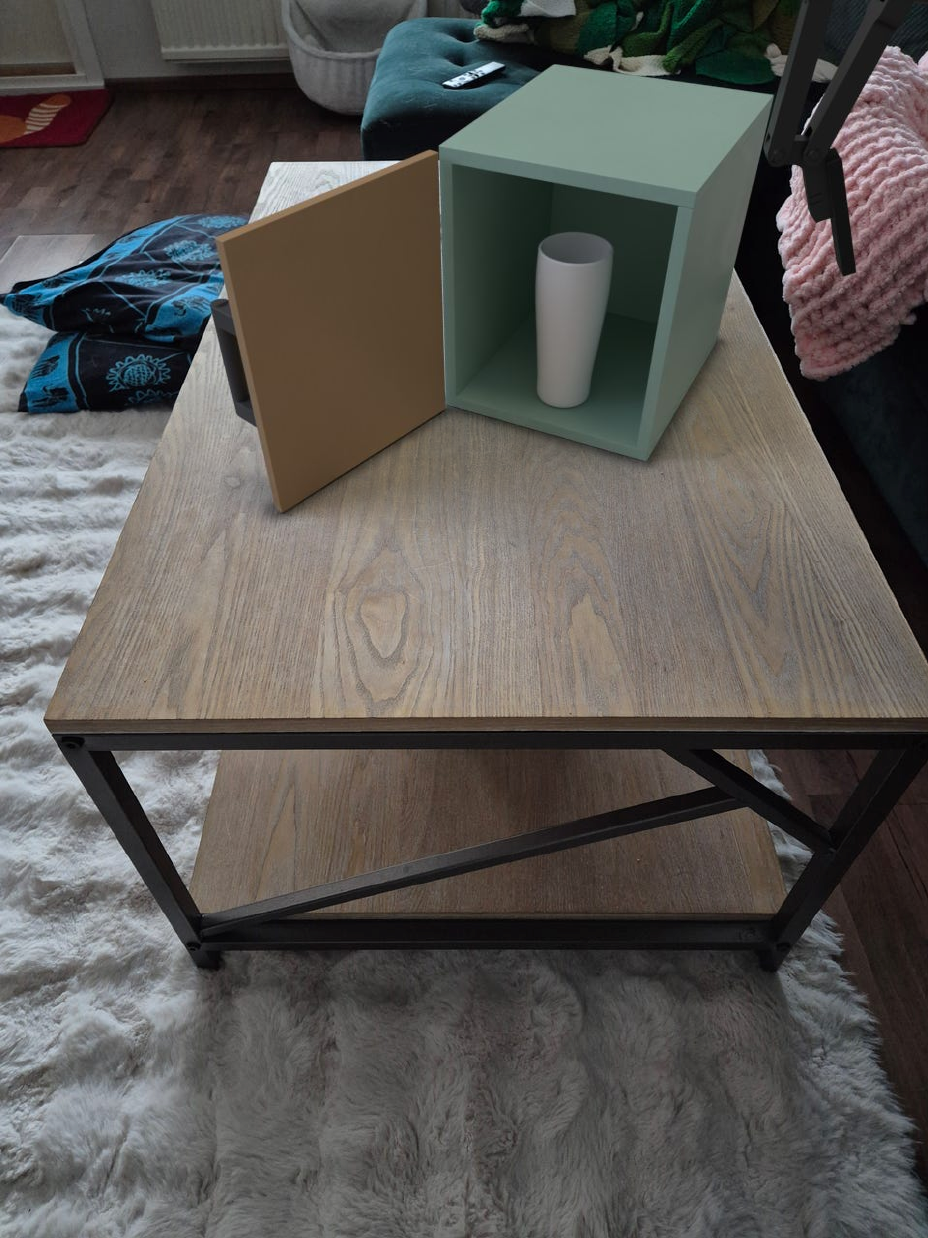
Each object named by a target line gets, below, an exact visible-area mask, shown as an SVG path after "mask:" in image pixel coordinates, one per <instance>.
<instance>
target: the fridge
mask: <svg viewBox="0 0 928 1238" xmlns="http://www.w3.org/2000/svg"><path fill="white" fill-rule="evenodd" d="M774 96H775V95H774V94H770V93H763V92H755V91H747V90H741V89H735V88H734V89H733V88H727V87H719V86H712V85H706V84H698V83H691V82H685V81H676V80H670V79H663V78H657V77H649V76H648V77H647V76H640V75H634V74H627V73H618V72H613V71H612V72H611V71H605V70H598V69H591V68H584V67H577V66H569V65H563V64H562V65H561V64H552V65H551V66H549V67H548V68H546V69H545V70H544V71H542V72H541V73H540V74H538V75H536V76H535V77H534V78H532V79H531V80H530V81H528V82H527V83H526V84H524V85H522V86H521V87H520V88H518V89H517V90H516V91H514V92H513V93H511V94H509V96H507V97H505V98H504V99H503V100H501V101H500V102H498V103H497V104H496V105H494V106H492V108H490V109H489V110H487V111H486V112H484V113H482V114H481V115H480V116H479V117H477V118H476V119H474V120H473V121H472V122H470V123H469V124H467V125H466V126H465V127H463V128H462V129H460V130H459V131H458V132H456V133H455V134H453V135H452V136H451V137H449V138H447V139H446V140H445V141H443V142H442V143H441V144H439V145H438V157H439V193H440V214H441V265H442V300H443V336H444V372H445V405H447V406H450V407H453V408H457V409H461V410H463V411H468V412H471V413H474V414H479V415H482V416H485V417H489V418H493V419H496V420H499V421H503V422H507V423H509V424H513V425H516V426H519V427H524V428H527V429H531V430H534V431H538V432H541V433H545V434H549V435H552V436H555V437H559V438H563V439H566V440H570V441H573V442H577V443H580V444H584V445H587V446H590V447H594V448H598V449H601V450H605V451H608V452H612V453H615V454H619V455H623V456H626V457H629V458H632V459H635V460H636V459H637V460H640V461H643V462H647V461H648V460H649V458H650V457H651V454H652V453H653V451H654V450H655V448H656V446H657V444H658V443H659V441H660V439H661V438H662V436H663V434H664V432H665V431H666V429H667V427H668V426H669V424H670V423H671V421H672V419H673V417H674V415H675V413H676V412H677V410H678V409H679V407H680V405H681V403H682V402H683V400H684V398H685V396H686V395H687V393H688V391H689V390H690V388H691V386H692V385H693V383H694V381H695V380H696V378H697V376H698V374H699V373H700V371H701V369H702V368H703V366H704V364H705V363H706V361H707V359H708V357H709V356H710V354H711V352H712V351H713V349H714V347H715V345H716V344H717V341H718V338H719V332H720V330H721V329H720V328H721V324H722V319H723V315H724V313H725V312H724V311H725V307H726V303H727V299H728V294H729V290H730V285H731V281H732V277H733V272H734V269H735V268H734V267H735V264H736V259H737V255H738V251H739V246H740V243H741V238H742V233H743V230H744V225H745V220H746V217H747V212H748V208H749V204H750V199H751V195H752V191H753V186H754V182H755V178H756V173H757V169H758V164H759V161H760V157H761V152H762V148H763V145H764V141H765V136H766V132H767V131H766V130H767V128H768V127H767V126H768V122H769V117H770V114H771V110H772V105H773V101H774ZM564 232H584V233H590V234H594V235H597V236H600V237H602V238H604V239H606V240H607V241H608V242H610V243H611V245H612V246H613V249H614V255H613V269H612V279H611V286H610V293H609V298H608V304H607V308H606V313H605V318H604V322H603V327H602V331H601V336H600V341H599V345H598V350H597V355H596V359H595V364H594V369H593V374H592V379H591V388H590V394H589V396H588V398H587V399H586V401H585V402H583V403H582V404H580V405H578V406H575V407H571V408H557V407H553V406H550V405H548V404H546V403H544V402H543V401H542V400H541V399H540V398H539V396H538V394H537V389H536V387H537V342H536V310H535V280H536V266H537V257H538V247H539V244H540V243H541V242H542V241H543V240H544V239H545V238H547V237H549V236H551V235H554V234H558V233H564Z"/></svg>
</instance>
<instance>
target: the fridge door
mask: <svg viewBox="0 0 928 1238" xmlns="http://www.w3.org/2000/svg"><path fill="white" fill-rule="evenodd" d="M440 214H441V209H440V172H439V151H435V150H432V149H428V150H425V151H423V152H420V153H418V154H416V155H413V156H410V157H408V158H406V159H403V160H401V161H399V162H396V163H393V164H391V165H389V166H387V167H383V168H381V169H378V170H377V171H374V172H371V173H370V174H369V173H368V174H367V175H365V176H361V177H359V178H356V179H354V180H352V181H349V182H348V183H345V184H343V185H340V186H337V187H335V188H332V189H330V190H328V191H325V192H323V193H321V194H318V195H316V196H312V197H310V198H308V199H306V200H303V201H301V202H298V203H296V204H293V205H291V206H289V207H287V208H283V209H281V210H279V211H276V212H274V213H272V214H271V213H270V214H269V215H267V216H264V217H261V218H259V219H256V220H254V221H252V222H249V223H248V224H245V225H242V226H240V227H238V228H235V229H233V230H230V231H228V232H225V233H222V234H221V235H218V236H215V237H214V241H215V247H216V250H217V256H218V259H219V264H220V268H221V273H222V277H223V282H224V287H225V291H226V295H227V298H216V299H213V300H212V301H210V302H209V307H210V312H211V316H212V321H213V325H214V329H215V333H216V336H217V337H216V338H217V341H218V345H219V349H220V353H221V358H222V361H223V366H224V369H225V374H226V378H227V382H228V386H229V390H230V395H231V398H232V403H233V406H234V411H235V415H236V416H237V417H239V418H240V419H242V420H244V421H245V422H247V423H248V424H250V425H252V426H254V427H255V428H256V430H257V433H258V437H259V442H260V447H261V451H262V455H263V461H264V465H265V468H266V474H267V478H268V482H269V487H270V492H271V496H272V500H273V504H274V505H273V506H274V508H275V510H277V511H278V512H280V513H282V514H283V513H284V512H286V511H288V510H290V509H291V508H293V507H294V506H296V505H297V504H299V503H301V502H302V501H303V500H305V499H307V498H308V497H309V496H311V495H312V494H315V493H316V492H317V491H319V490H321V489H323V488H324V487H325V486H327V485H329V484H330V483H332V482H333V481H335V480H336V479H338V478H339V477H341V476H342V475H344V474H346V473H347V472H349V471H351V470H352V469H354V468H355V467H357V466H359V465H360V464H361V463H363V462H365V461H366V460H368V459H369V458H371V457H372V456H374V455H376V454H377V453H378V452H380V451H382V450H383V449H385V448H386V447H388V446H389V445H391V444H393V443H394V442H396V441H397V440H399V439H401V438H402V437H404V436H405V435H407V434H408V433H410V432H411V431H413V430H414V429H416V428H418V427H419V426H421V425H423V424H424V423H425V422H427V421H429V420H430V419H432V418H434V417H435V416H437V415H438V414H441V412H443V411H445V410H446V391H445V355H444V318H443V282H442V245H441V229H440Z"/></svg>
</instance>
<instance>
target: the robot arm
mask: <svg viewBox="0 0 928 1238" xmlns="http://www.w3.org/2000/svg"><path fill="white" fill-rule="evenodd" d="M833 3H834V0H801V4H800V7H799V12H798V14H797V15H798V16H797V20H796V23H795V25H794V26H795V27H794V30H793V33H792V38H791V42H790V44H789V49H788V53H787V57H786V60H785V64H784V67H783V71H782V74H781V78H780V82H779V85H778V90H777V93H776V97H775V101H774V104H773V108H772V111H771V116H770V119H769V124H768V127H767V129H766V130H767V131H766V133H765V137H764V141H763V152H764V155H765V157H766V160H767V162H768V163H767V164H769V165H770V166H771V167H772V168H773V167H774V168H780V167H782V166H797V167H799V168H800V169H801V172H802V179H803V186H804V191H805V198H806V205H807V210H808V213H809V215H810V217H811V218H812V220H813V222H815V224H817V223H821V222H823V221H827V220H830V227H831V228H830V229H831V234H832V242H833V249H834V255H835V262H836V264H837V266H838V269H839V271H840V274H841V277H843V278H844V277H847V276H850V275H854V274H857V267H856V257H855V250H854V241H853V235H852V227H851V220H850V211H849V205H848V198H847V197H848V196H847V188H846V179H845V174H844V165H843V159H842V157H841V155H840V153H839V152H838V150H837V149H836V148H837V147H835V146H834V147H832V146H833V144H834V142H836V139H837V137H838V135H839V134H840V132H841V130H842V128H843V126H844V124H845V122H846V121H847V119H848V117H849V115H850V114H851V112H852V110H853V108H854V106H855V105H856V103H857V101H858V99H859V98H860V95H861V94H862V92H863V91H864V89H865V87H866V85H867V83H868V82H869V79H870V78H871V76H872V74H873V73H874V71H875V69H876V67H877V65H878V64H879V62H880V60H881V58H882V57H883V54H884V52H885V51H886V49H887V47H888V45H889V43H890V42H891V40H892V38H893V37H894V35H895V33H896V32H897V31H898V30H899V29H900V27H902V25H903V23H904V22H905V20H906V18H907V16H908V14H909V13H910V11H911V9H912V7H913V6H914V3H916V4H921V5H923V4H924V5H926V4H928V0H870V2H869V4H868V6H867V8H866V11H865V15H864V18H863V19H862V22H861V23H860V25H859V28H858V29H857V31H856V33H855V35H854V37H853V39H852V40H851V42H850V44H849V46H848V48H847V50H846V52H845V54H844V56H843V58H842V59H841V62H840V63H839V64H838V67H837V69H836V70H835V73H834V74H833V77H832V78H831V80H830V82H829V84H828V86H827V88H826V89H825V92H824V93H823V94H822V95H823V96H822V97H821V99H820V101H819V103H818V105H817V106H816V109H814V113H813V114H812V116H811V118H810V120H809V122H808V123H807V125H806V128H805V129H804V131H803V133H802V134H797V132H798V128H799V125H800V122H801V118H802V115H803V111H804V107H805V105H806V100H807V98H808V94H809V91H810V87H811V84H812V81H813V76H814V73H815V70H816V66H817V63H818V59H819V57H820V53H821V49H822V46H823V42H824V39H825V35H826V31H827V29H828V24H829V21H830V19H831V13H832V11H833Z"/></svg>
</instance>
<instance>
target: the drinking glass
mask: <svg viewBox="0 0 928 1238" xmlns="http://www.w3.org/2000/svg"><path fill="white" fill-rule="evenodd" d="M613 255H614V249H613V246H612V245H611V243H610V242H608V241H607V240H606V239H604V238H602V237H600V236H597V235H594V234H590V233H584V232H564V233H558V234H554V235H551V236H549V237H547V238H545V239H544V240H543V241H542V242H541V243H540V244H539V247H538V257H537V266H536V280H535V310H536V342H537V387H536V389H537V394H538V396H539V398H540V399H541V400H542V401H543V402H544V403H546V404H548V405H550V406H553V407H557V408H571V407H575V406H578V405H580V404H582V403H583V402H585V401H586V399H587V398H588V396H589V394H590V388H591V379H592V374H593V369H594V364H595V359H596V355H597V350H598V345H599V341H600V336H601V331H602V327H603V322H604V318H605V313H606V308H607V304H608V298H609V293H610V286H611V279H612V269H613Z"/></svg>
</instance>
